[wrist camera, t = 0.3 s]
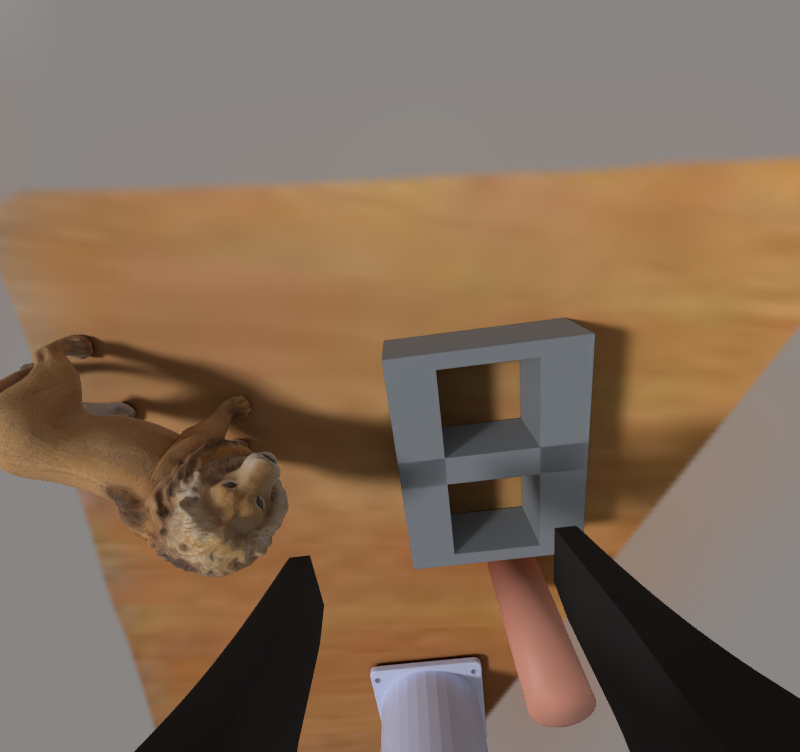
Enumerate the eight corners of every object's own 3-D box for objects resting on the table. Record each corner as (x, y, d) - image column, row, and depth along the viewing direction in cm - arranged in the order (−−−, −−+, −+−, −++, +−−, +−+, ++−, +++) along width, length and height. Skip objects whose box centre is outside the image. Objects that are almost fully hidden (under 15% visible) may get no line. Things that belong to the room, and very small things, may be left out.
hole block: (559, 512, 23) (582, 551, 20) (411, 528, 23) (413, 569, 21) (565, 317, 19) (594, 333, 16) (383, 340, 19) (381, 360, 16)
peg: (534, 575, 25) (594, 724, 17) (488, 580, 25) (528, 730, 18) (534, 540, 24) (598, 682, 16) (486, 545, 24) (527, 688, 16)
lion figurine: (326, 394, 20) (276, 512, 12) (306, 475, 22) (251, 628, 14) (29, 318, 19) (-273, 392, 10) (35, 412, 20) (-218, 542, 12)
